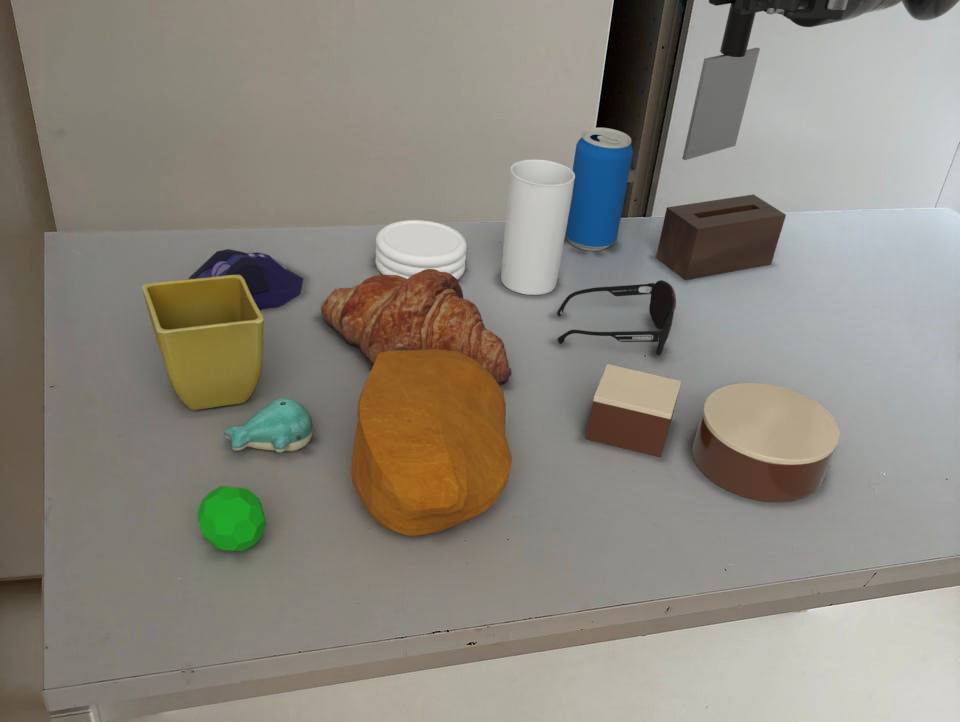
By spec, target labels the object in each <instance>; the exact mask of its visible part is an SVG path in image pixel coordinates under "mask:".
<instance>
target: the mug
mask: <svg viewBox="0 0 960 722" xmlns="http://www.w3.org/2000/svg"><path fill="white" fill-rule="evenodd" d="M509 169H510V170H509V179H508V189H507V201H506V212H505V225H504V236H503V247H502V257H501V258H502V260H501V272H500V273H501V274H500V280H501V283H502V284H503V285H504V287H506V288H507V289H508V290H510V291H512V292H515V293H519V294H522V295H528V296H540V295H541V296H542V295H545V294H548V293H551V292H553V291H554V290H555V289H556V287H557V284H558V278H559V272H560V267H561V261H562V256H563V249H564V245H565V239H566V237H565V233H566V228H567V222H568V216H569V211H570V205H571V199H572V193H573V186H574V179H575V174H574V172H573V171H572V170H573V169H572V168H570V167H568V166H567V165H564V164H562V163H559V162H557V161H552V160H547V159H538V158H537V159H536V158H534V159H533V158H532V159H531V158H530V159H524V160H523V159H522V160H519V161H516V162H514V163H513V164H512V165H511V166H510V168H509Z"/></svg>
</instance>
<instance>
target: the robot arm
mask: <svg viewBox="0 0 960 722" xmlns="http://www.w3.org/2000/svg"><path fill="white" fill-rule="evenodd" d="M731 1H732V0H708V3H709V4H711V5H713V6H716V7H718V6H724V5H728V4H729V5H731ZM959 2H960V0H736V4H735V9H734V10H735V12H736V13H738V14H741V15H744V14H750V13H755V12H756V13H759V12H760V13H761V12H764V13H766V14H767V15H773V14H774V15H775V14H778V15H781V16H783V17H784V18H786V19H788V20H790V21H791V22H792V23H794V24H795V25H797V26H799V27H803V28H814V27H819V26H824V25H828V24H833V23H838V22H844V21H848V20H853V19H855V18H858V17H860V16H862V15H864V14H868V13H873V12H879V11H883V10H887V9H890V8H892V7H893V8H894V7H895V6H897V5H899V4H900V3H902V5H903V7H904V8H905V10H906V11H907V14H908V15H910V16H911V17H912V19H914V20H917V21H921V22H927V21H932V20H935V19H937V18H939V17H940V18H941V16H943V15H944V14H946V13H948V12H949V11H950V10H951V9H953V8H954V7H955V6H956V5H957V4H958V3H959Z"/></svg>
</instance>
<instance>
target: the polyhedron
mask: <svg viewBox="0 0 960 722" xmlns="http://www.w3.org/2000/svg"><path fill="white" fill-rule="evenodd" d="M196 513H197V514H196V515H197V522H198V525H199V529H200V531H201V534H202V536H203V538H204V539H205V540H206V541H207V542H209V544H211V545H212V546H213V547H215V549H218V550H223V551H233V552H238V551H239V552H241V551H242V552H244V551H245V550H247V549H249V548H252V547H253V546H255V544H256V543H258V541H259V540H260V539H261V538H262V536H263V534H264V532H265V528H266V526H267V521H266V515H265V512H264V509H263V505H262V502H261V500H260V498H259V497H258V496H257V495H256V494H255V493H253V492H252V491H251V490H250V489H249V488H246V487H245V488H244V487H236V486H224V485H219V486H218V487H216V488H215V489H213V490H212V491H210V492H208V493H207V494H206V495H205V496H204V497H203V498H202V500H201V502H200V504H199V507H198V510H197V512H196Z"/></svg>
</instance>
